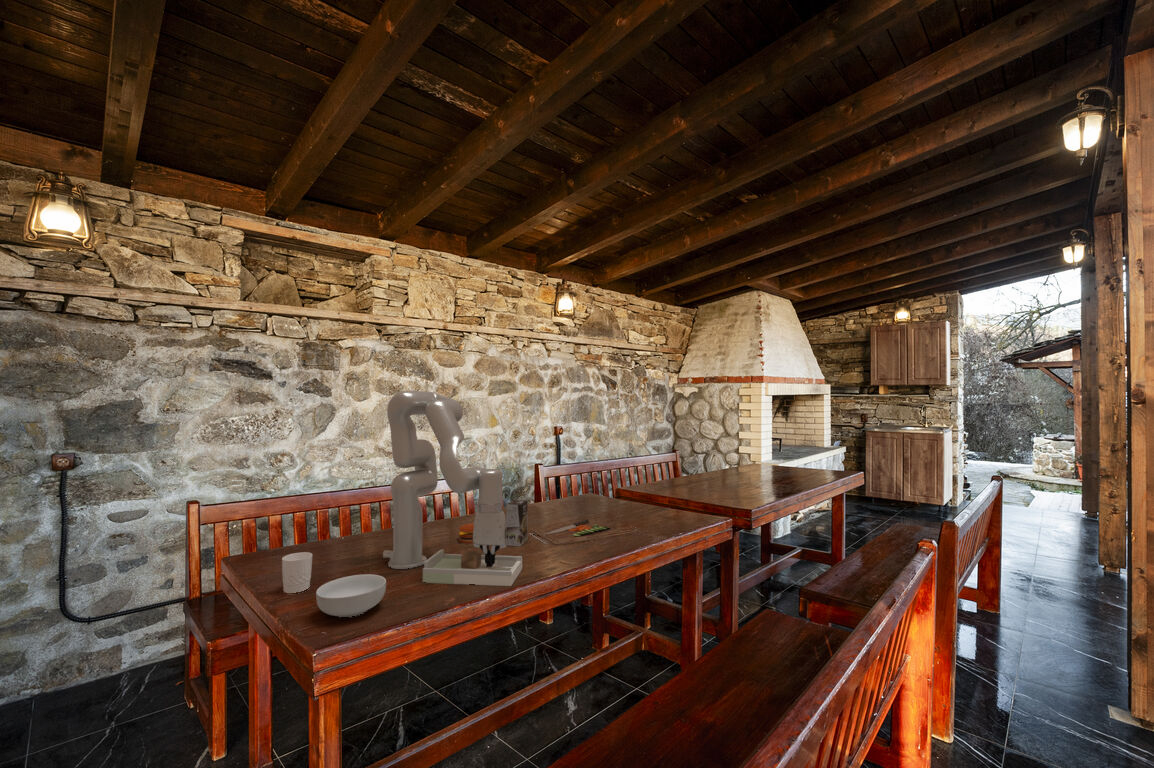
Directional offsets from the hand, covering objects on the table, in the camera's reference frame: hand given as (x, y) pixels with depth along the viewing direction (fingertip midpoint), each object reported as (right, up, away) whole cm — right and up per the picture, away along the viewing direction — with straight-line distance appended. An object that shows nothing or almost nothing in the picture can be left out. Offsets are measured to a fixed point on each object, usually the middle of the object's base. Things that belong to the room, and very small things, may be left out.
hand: (490, 565), depth 152 cm
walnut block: (-6, -1, +1) cm, 6 cm away
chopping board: (+31, -6, +53) cm, 61 cm away
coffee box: (+4, -5, +37) cm, 37 cm away
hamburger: (-16, -6, +41) cm, 44 cm away
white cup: (-56, -4, -11) cm, 57 cm away
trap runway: (-5, -3, 0) cm, 6 cm away
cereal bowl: (-32, -3, -26) cm, 41 cm away
